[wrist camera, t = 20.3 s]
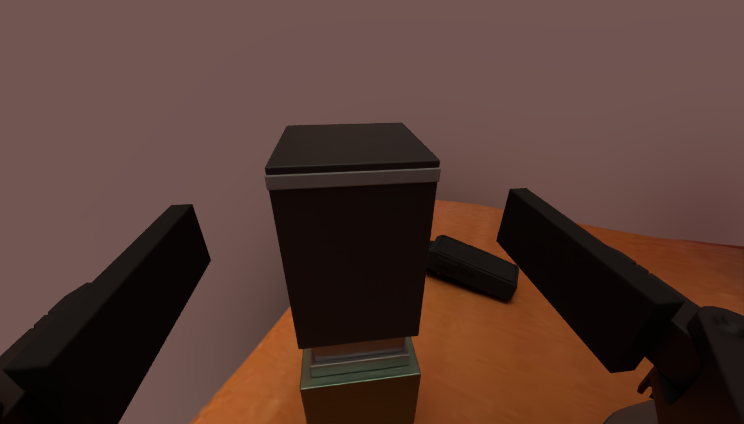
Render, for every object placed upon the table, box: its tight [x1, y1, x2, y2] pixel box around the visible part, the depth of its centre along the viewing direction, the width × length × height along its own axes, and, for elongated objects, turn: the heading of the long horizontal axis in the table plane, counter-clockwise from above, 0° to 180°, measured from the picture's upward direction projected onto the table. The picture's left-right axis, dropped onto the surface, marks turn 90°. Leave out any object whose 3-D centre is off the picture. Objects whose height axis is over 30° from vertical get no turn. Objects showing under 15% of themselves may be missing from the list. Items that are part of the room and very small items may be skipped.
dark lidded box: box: [265, 123, 441, 349], centre depth 16 cm, size 6×6×10 cm
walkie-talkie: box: [426, 235, 519, 301], centre depth 43 cm, size 6×6×20 cm
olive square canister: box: [300, 337, 421, 424], centre depth 22 cm, size 7×7×16 cm
